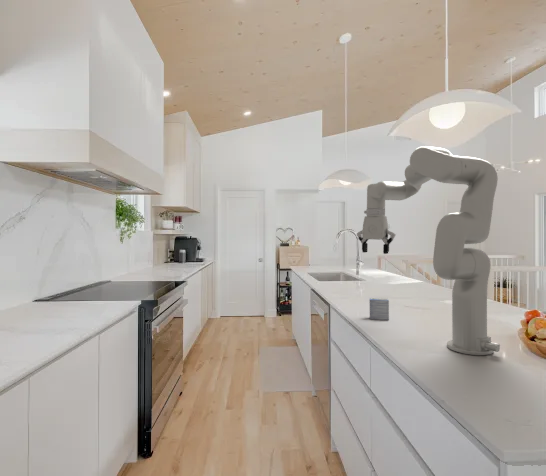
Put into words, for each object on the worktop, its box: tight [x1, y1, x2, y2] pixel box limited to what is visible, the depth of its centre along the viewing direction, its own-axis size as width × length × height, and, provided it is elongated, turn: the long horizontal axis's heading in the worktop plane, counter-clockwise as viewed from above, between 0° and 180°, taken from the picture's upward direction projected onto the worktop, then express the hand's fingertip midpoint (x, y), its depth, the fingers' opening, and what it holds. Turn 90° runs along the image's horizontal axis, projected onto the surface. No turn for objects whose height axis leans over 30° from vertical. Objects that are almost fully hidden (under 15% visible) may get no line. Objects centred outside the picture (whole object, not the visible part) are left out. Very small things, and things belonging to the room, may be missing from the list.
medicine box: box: [369, 297, 390, 321], centre depth 151 cm, size 8×4×9 cm, turn 74°
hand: (375, 252), depth 151 cm, fingers open, 9 cm apart
